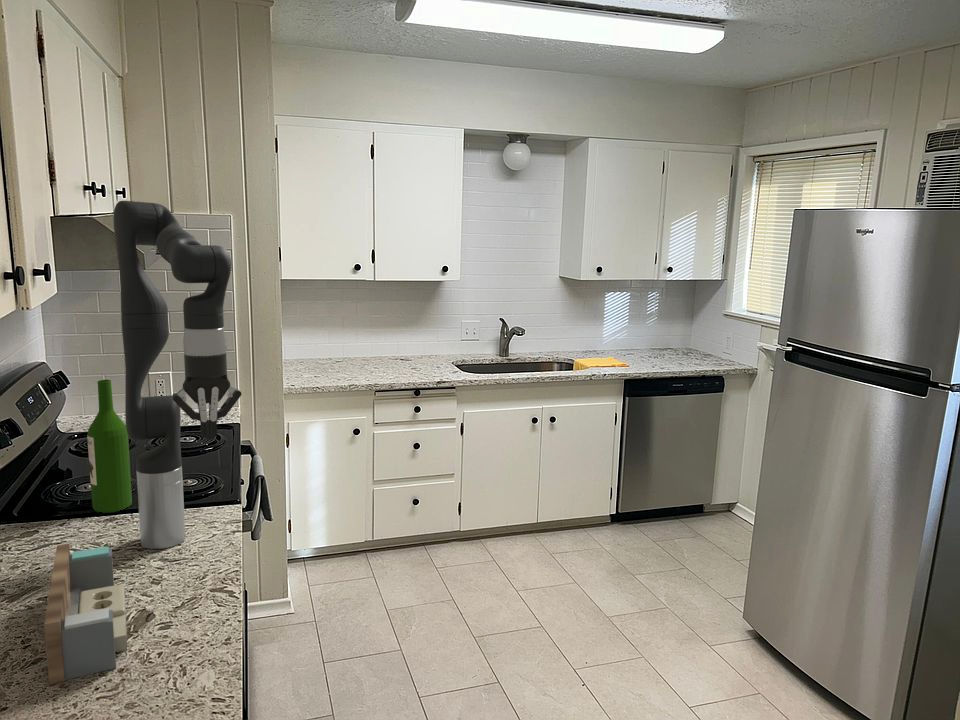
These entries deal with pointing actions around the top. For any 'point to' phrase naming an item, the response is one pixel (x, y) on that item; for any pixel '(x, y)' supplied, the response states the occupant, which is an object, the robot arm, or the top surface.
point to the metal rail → (74, 600)
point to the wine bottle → (109, 456)
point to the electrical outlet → (114, 601)
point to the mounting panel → (57, 613)
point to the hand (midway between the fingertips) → (209, 439)
